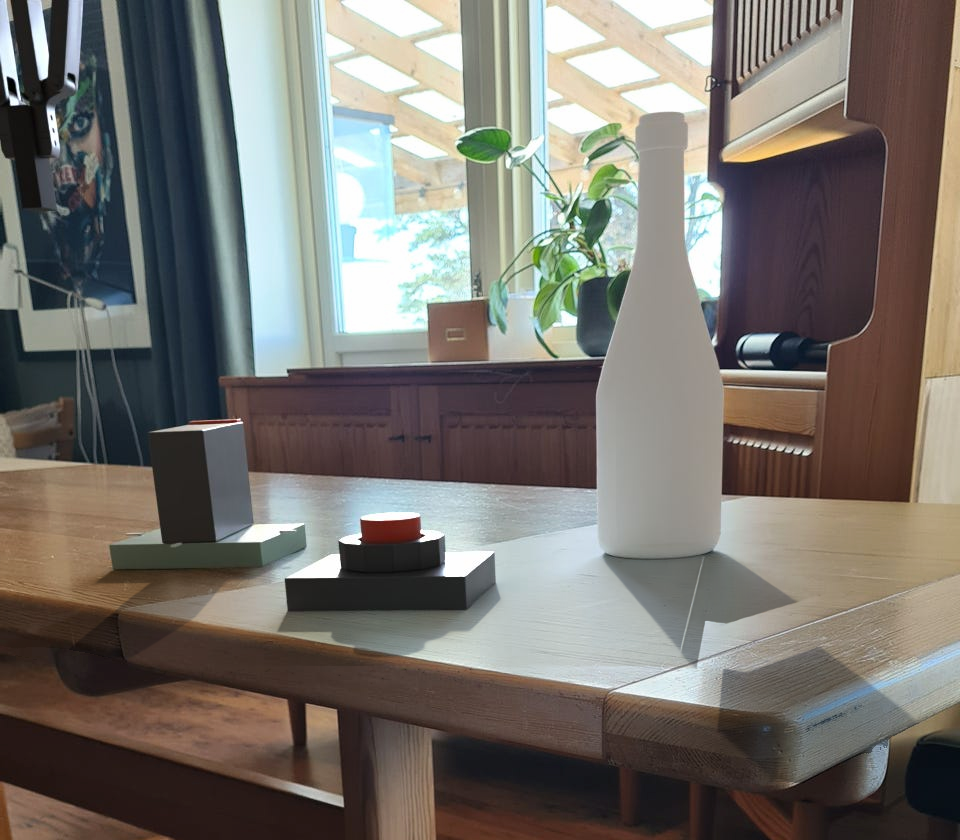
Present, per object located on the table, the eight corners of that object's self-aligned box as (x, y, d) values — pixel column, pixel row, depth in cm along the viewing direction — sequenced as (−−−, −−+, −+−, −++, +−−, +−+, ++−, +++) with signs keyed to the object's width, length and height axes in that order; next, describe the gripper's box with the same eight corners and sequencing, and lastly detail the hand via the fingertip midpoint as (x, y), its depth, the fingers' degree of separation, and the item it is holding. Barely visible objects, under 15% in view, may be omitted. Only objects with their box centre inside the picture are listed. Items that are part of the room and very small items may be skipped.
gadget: (216, 541, 102) (202, 426, 99) (161, 543, 103) (146, 429, 100) (254, 523, 112) (242, 418, 109) (204, 525, 113) (192, 421, 110)
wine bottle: (647, 539, 107) (648, 130, 96) (744, 547, 100) (757, 110, 89) (572, 555, 100) (565, 119, 89) (671, 564, 94) (676, 97, 83)
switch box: (287, 612, 84) (281, 550, 82) (333, 585, 93) (328, 528, 91) (466, 611, 81) (463, 546, 80) (496, 583, 90) (493, 525, 89)
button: (354, 548, 84) (352, 520, 84) (371, 539, 88) (369, 513, 87) (413, 547, 83) (411, 519, 83) (427, 538, 87) (426, 511, 86)
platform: (88, 574, 103) (83, 546, 102) (167, 546, 117) (163, 521, 116) (266, 571, 100) (263, 543, 99) (326, 543, 114) (324, 518, 113)
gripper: (94, -174, 88) (143, 209, 97) (-84, -156, 90) (-20, 219, 98) (48, -218, 81) (105, 198, 90) (-144, -197, 83) (-70, 210, 91)
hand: (40, 209), depth 94 cm, fingers closed
